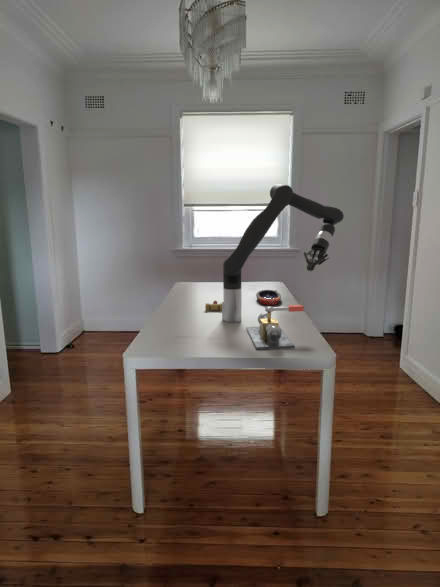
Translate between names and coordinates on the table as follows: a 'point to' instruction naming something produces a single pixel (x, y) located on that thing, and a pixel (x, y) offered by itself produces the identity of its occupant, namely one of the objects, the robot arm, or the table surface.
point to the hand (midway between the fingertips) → (309, 270)
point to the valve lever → (285, 308)
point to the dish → (268, 294)
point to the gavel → (213, 306)
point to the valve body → (269, 334)
